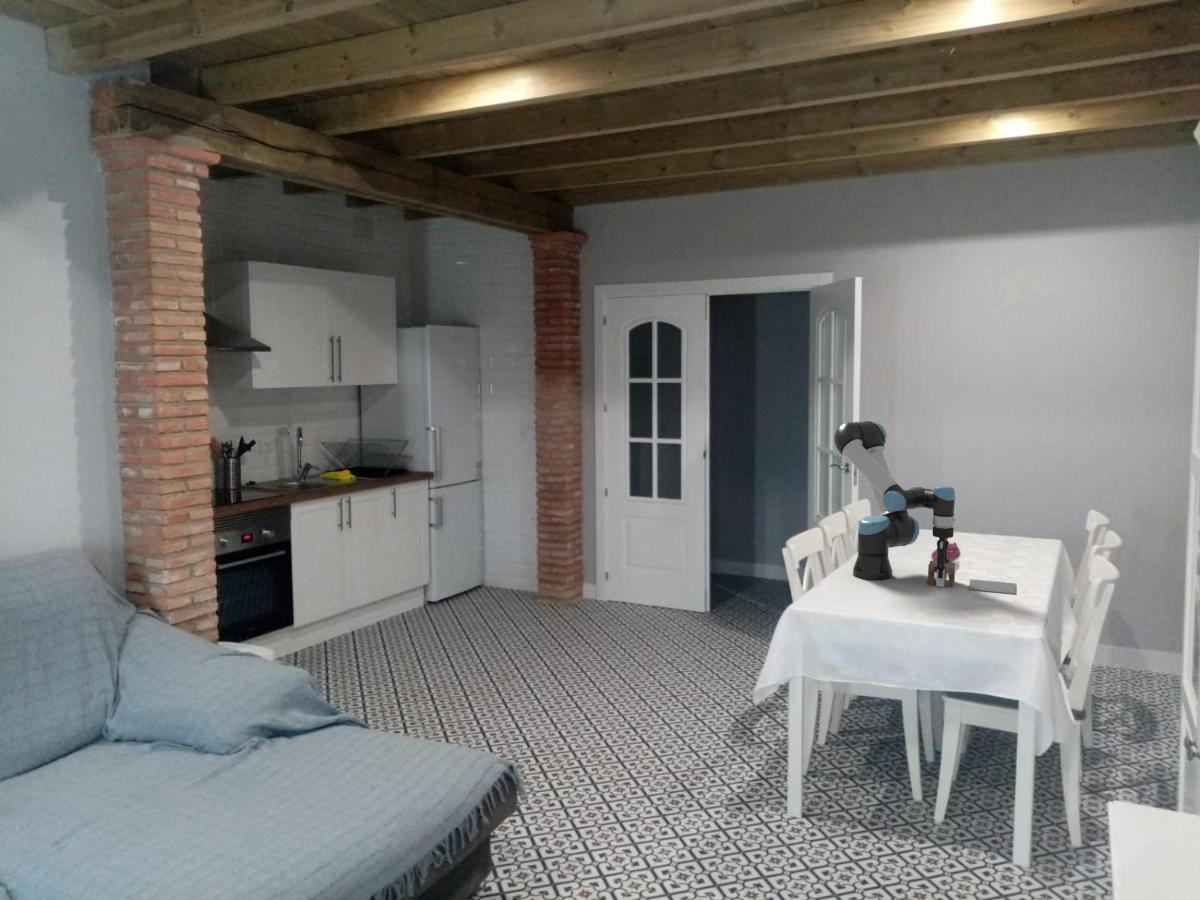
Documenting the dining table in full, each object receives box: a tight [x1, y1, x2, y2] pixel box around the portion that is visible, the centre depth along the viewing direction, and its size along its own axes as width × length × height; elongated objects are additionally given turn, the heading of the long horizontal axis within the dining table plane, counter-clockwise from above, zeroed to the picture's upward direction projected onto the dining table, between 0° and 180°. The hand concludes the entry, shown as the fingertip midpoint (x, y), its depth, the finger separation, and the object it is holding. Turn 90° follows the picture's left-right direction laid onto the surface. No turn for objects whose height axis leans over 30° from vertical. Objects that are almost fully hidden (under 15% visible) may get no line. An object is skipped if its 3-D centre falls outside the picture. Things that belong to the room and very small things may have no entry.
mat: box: [968, 579, 1017, 595], centre depth 345 cm, size 16×16×1 cm
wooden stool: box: [927, 560, 956, 588], centre depth 351 cm, size 9×9×8 cm
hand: (941, 582), depth 352 cm, fingers open, 11 cm apart
